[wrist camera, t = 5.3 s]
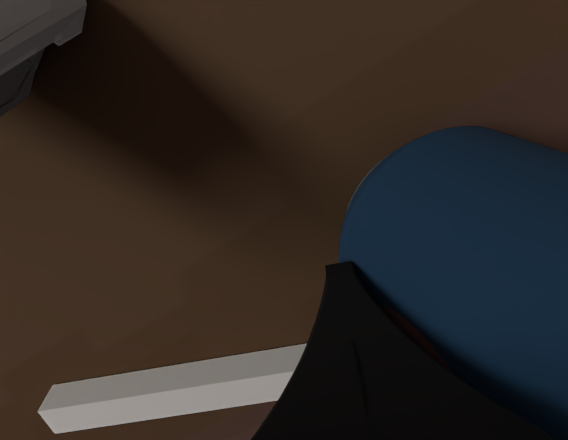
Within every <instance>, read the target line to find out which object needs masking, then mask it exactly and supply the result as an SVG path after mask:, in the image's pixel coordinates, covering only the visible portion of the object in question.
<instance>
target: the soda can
mask: <svg viewBox="0 0 568 440" xmlns="http://www.w3.org/2000/svg"><path fill="white" fill-rule="evenodd" d="M347 261H351V263H352V266H353V269H354V271H355V273H356V275H357V277H358V278H359V280H360V281H361V283H362V284H363V286H364V287H365V288H366V290H367V291H368V292H369V294H370V295H371V296H372V298H373V299H374V300H375V301H376V302H377V304H378V305H379V306H380V307H381V308H382V310H383V311H384V312H385V313H386V314H387V315H388V316H389V317H390V318H391V320H392V321H393V322H394V323H395V324H396V325H397V326H398V327H399V328H400V329H401V330H402V331H403V332H404V333H405V334H406V335H407V336H408V337H409V338H410V339H411V340H413V341H414V342H415V343H416V344H417V345H418V346H419V347H420V348H422V349H423V350H424V351H425V352H426V353H427V354H429V355H430V356H431V357H432V358H433V359H435V360H436V361H437V362H438V363H440V364H441V365H442V366H443V367H445V368H446V369H448V370H449V371H450V372H452V373H453V374H454V375H456V376H457V377H459V378H460V379H461V380H463V381H464V382H466V383H467V384H468V385H470V386H471V387H472V388H474V389H475V390H477V391H478V392H480V393H482V394H483V395H485V396H486V397H488V398H489V399H491V400H492V401H494V402H495V403H497V404H499V405H500V406H502V407H504V408H505V409H507V410H509V411H510V412H512V413H514V414H516V415H517V416H519V417H521V418H523V419H525V420H526V421H528V422H530V423H532V424H534V425H535V426H537V427H539V428H541V429H542V430H544V431H545V432H546V433H547V434H548V435H549V436H550V437H551V439H552V440H568V153H565V152H562V151H559V150H555V149H552V148H549V147H546V146H543V145H540V144H537V143H533V142H530V141H527V140H524V139H521V138H518V137H515V136H511V135H508V134H505V133H502V132H499V131H496V130H493V129H489V128H484V127H477V126H461V127H452V128H447V129H443V130H439V131H435V132H432V133H429V134H427V135H424V136H422V137H420V138H417V139H415V140H413V141H411V142H409V143H408V144H406V145H404V146H402V147H400V148H399V149H397V150H395V151H394V152H392V153H391V154H389V155H388V156H386V157H385V158H384V159H382V160H381V161H380V162H379V163H378V164H376V165H375V166H374V167H373V168H372V169H371V170H370V171H369V173H368V174H367V175H366V176H365V177H364V179H363V180H362V181H361V183H360V184H359V186H358V187H357V189H356V190H355V192H354V194H353V196H352V198H351V200H350V203H349V205H348V208H347V211H346V214H345V218H344V222H343V226H342V230H341V235H340V243H339V263H342V262H347Z"/></svg>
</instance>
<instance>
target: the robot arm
mask: <svg viewBox="0 0 568 440" xmlns="http://www.w3.org/2000/svg"><path fill="white" fill-rule="evenodd" d="M325 268H326V280H325V287H324V292H323V296H322V300H321V304H320V307H319V311H318V314H317V318H316V321H315V323H314V326H313V329H312V332H311V334H310V337H309V340H308V342H307V345H306V347H305V350H304V352H303V354H302V356H301V358H300V360H299V363H298V365H297V367H296V369H295V371H294V373H293V374H292V376H291V378H290V380H289V382H288V384H287V385H286V387H285V389H284V391H283V393H282V394H281V396H280V398H279V399H278V401H277V402H276V404H275V405H274V407H273V408H272V410H271V411H270V413H269V414H268V416H267V417H266V419H265V420H264V422H263V423H262V425H261V426H260V428H259V429H258V431H257V432H256V433H255V435H254V436H253V437H252V439H251V440H552V439H551V437H550V436H549V435H548V434H547V433H546V432H545V431H544V430H542V429H541V428H539V427H537V426H535V425H534V424H532V423H530V422H528V421H526V420H525V419H523V418H521V417H519V416H517V415H516V414H514V413H512V412H510V411H509V410H507V409H505V408H504V407H502V406H500V405H499V404H497V403H495V402H494V401H492V400H491V399H489V398H488V397H486V396H485V395H483V394H482V393H480V392H478V391H477V390H475V389H474V388H472V387H471V386H470V385H468V384H467V383H466V382H464V381H463V380H461V379H460V378H459V377H457V376H456V375H454V374H453V373H452V372H450V371H449V370H448V369H446V368H445V367H443V366H442V365H441V364H440V363H438V362H437V361H436V360H435V359H433V358H432V357H431V356H430V355H429V354H427V353H426V352H425V351H424V350H423V349H422V348H420V347H419V346H418V345H417V344H416V343H415V342H414V341H413V340H411V339H410V338H409V337H408V336H407V335H406V334H405V333H404V332H403V331H402V330H401V329H400V328H399V327H398V326H397V325H396V324H395V323H394V322H393V321H392V320H391V318H390V317H389V316H388V315H387V314H386V313H385V312H384V311H383V310H382V308H381V307H380V306H379V305H378V304H377V302H376V301H375V300H374V299H373V298H372V296H371V295H370V294H369V292H368V291H367V290H366V288H365V287H364V286H363V284H362V283H361V281H360V280H359V278H358V277H357V275H356V273H355V271H354V269H353V266H352V263H351V261H347V262H342V263H337V264H331V265H326V266H325Z"/></svg>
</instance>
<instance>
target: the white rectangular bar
mask: <svg viewBox="0 0 568 440" xmlns="http://www.w3.org/2000/svg"><path fill="white" fill-rule="evenodd" d="M306 345H307V344H300V345H294V346H288V347H282V348H276V349H270V350H264V351H258V352H252V353H245V354H239V355H233V356H227V357H221V358H215V359H209V360H203V361H196V362H190V363H184V364H178V365H172V366H166V367H160V368H154V369H148V370H141V371H135V372H129V373H123V374H117V375H111V376H105V377H99V378H92V379H86V380H80V381H74V382H68V383H62V384H56V385H53V386H52V387H51V389H50V391H49V393H48V394H47V396H46V398H45V399H44V401H43V403H42V405H41V406H40V408H39V410H38V411H37V412H38V413H39V414H40V415H41V417H42V418H43V419H44V421H45V422H46V423H47V424H48V426H49V427H50V428H51V430H52V431H53V432H54V433H55V434H57V433H64V432H70V431H77V430H84V429H90V428H97V427H104V426H110V425H117V424H124V423H130V422H137V421H144V420H150V419H157V418H164V417H170V416H177V415H184V414H190V413H197V412H204V411H210V410H217V409H223V408H230V407H237V406H243V405H250V404H257V403H263V402H270V401H277V400H278V399H279V398H280V396H281V394H282V393H283V391H284V389H285V387H286V385H287V384H288V382H289V380H290V378H291V376H292V374H293V373H294V371H295V369H296V367H297V365H298V363H299V360H300V358H301V356H302V354H303V352H304V350H305V347H306Z"/></svg>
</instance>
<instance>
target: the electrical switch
mask: <svg viewBox="0 0 568 440" xmlns="http://www.w3.org/2000/svg"><path fill="white" fill-rule="evenodd" d="M86 7H87V2H86V0H0V117H1V116H2V115H3V114H5V113H6V112H7V111H9V110H10V109H11V108H13V107H14V106H15V105H17V104H18V103H19V102H21V101H22V100H23V99H25V98H26V97H27V96H29V95H30V93H31V88H32V84H33V79H34V74H35V71H36V70H37V67H38V65H39V62H40V60H41V57H42V55H43V52H44V50H45V47H46V46H48V45H50V44H51V43H55V44H56V45H58V46H60V45H62V44H64V43H65V42H67V41H69V40H70V39H72V38H74V37H75V36H77V35H79V34H80V33H82V28H83V23H84V17H85V12H86Z"/></svg>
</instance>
